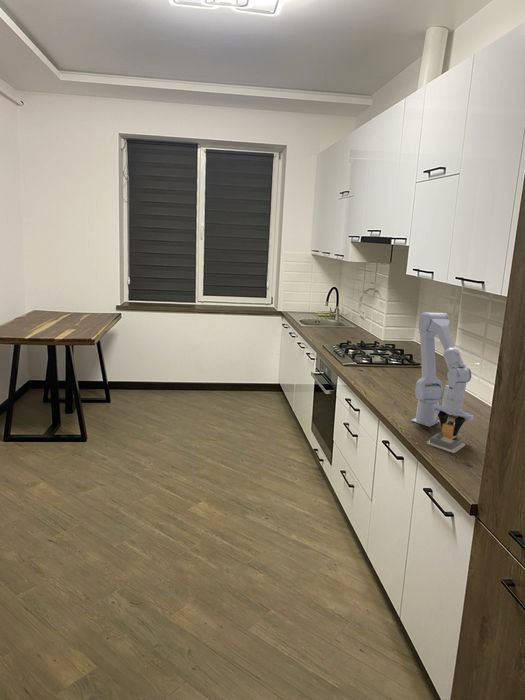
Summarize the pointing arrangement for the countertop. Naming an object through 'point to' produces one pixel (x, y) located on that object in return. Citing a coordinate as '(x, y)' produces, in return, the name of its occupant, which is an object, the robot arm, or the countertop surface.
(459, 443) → the end holder
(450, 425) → the block
